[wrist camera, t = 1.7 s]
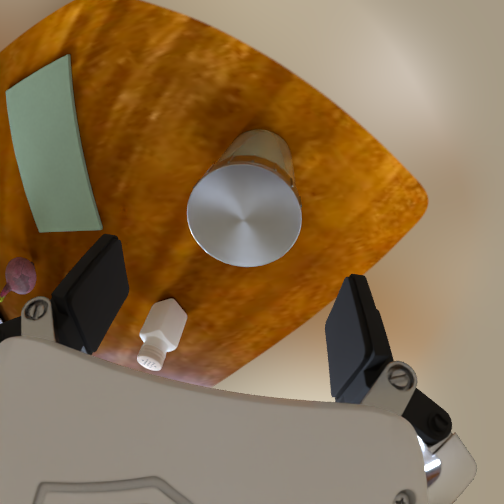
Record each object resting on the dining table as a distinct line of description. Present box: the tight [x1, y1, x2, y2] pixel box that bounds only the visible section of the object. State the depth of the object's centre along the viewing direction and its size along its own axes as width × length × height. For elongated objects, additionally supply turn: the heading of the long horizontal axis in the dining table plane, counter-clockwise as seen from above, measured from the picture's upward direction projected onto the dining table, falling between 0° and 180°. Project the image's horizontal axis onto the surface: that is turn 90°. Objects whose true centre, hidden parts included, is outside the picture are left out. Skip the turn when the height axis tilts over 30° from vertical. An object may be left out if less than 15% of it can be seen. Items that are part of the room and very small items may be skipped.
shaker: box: [216, 129, 296, 186], centre depth 20 cm, size 6×6×12 cm
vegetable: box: [0, 257, 36, 302], centre depth 32 cm, size 6×6×10 cm
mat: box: [6, 54, 103, 232], centre depth 25 cm, size 22×13×1 cm, turn 3°
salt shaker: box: [137, 298, 187, 371], centre depth 33 cm, size 4×4×10 cm
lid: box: [187, 155, 302, 267], centre depth 16 cm, size 6×6×2 cm
